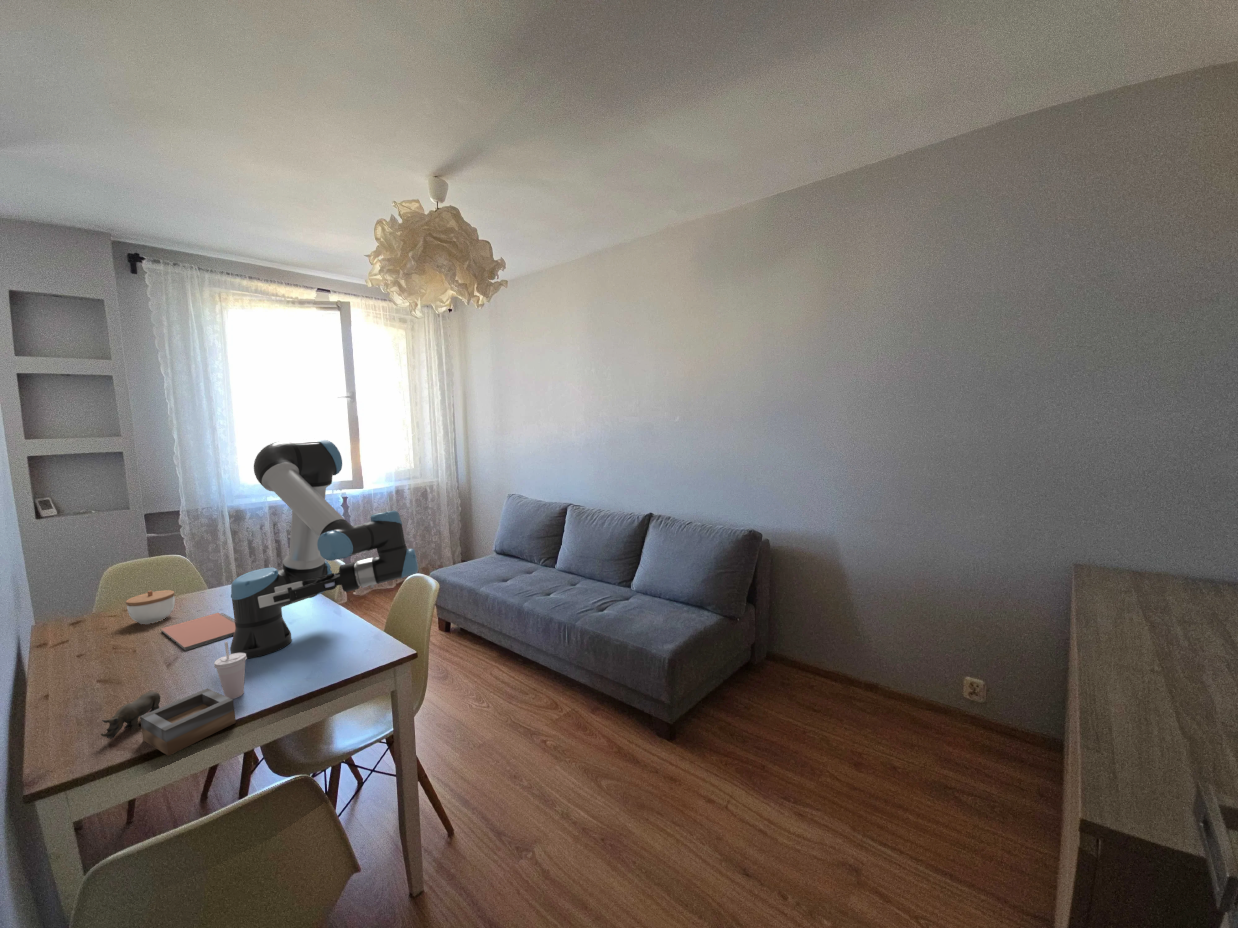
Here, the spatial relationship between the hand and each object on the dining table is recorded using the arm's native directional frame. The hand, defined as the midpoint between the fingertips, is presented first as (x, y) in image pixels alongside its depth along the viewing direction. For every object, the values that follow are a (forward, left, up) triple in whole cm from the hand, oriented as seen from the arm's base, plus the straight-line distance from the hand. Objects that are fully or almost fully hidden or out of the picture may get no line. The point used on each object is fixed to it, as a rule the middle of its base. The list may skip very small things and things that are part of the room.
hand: (267, 597), depth 126 cm
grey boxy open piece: (+5, -20, -23) cm, 31 cm away
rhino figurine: (-10, -25, -23) cm, 36 cm away
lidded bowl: (-91, +6, -23) cm, 94 cm away
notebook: (-60, +9, -24) cm, 65 cm away
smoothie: (-3, -8, -23) cm, 25 cm away
